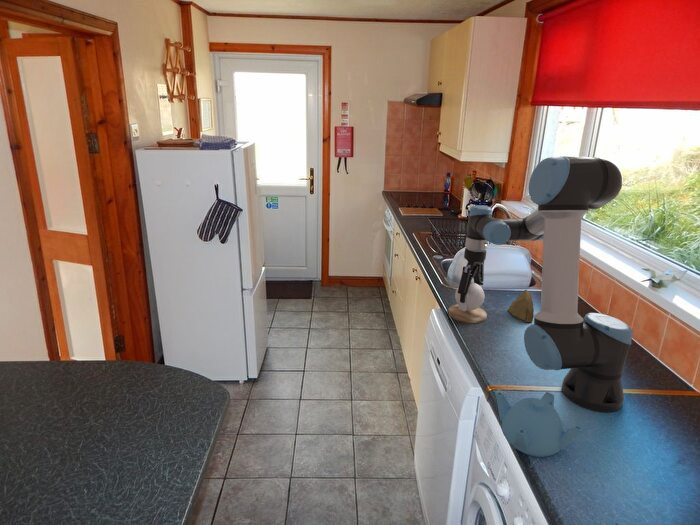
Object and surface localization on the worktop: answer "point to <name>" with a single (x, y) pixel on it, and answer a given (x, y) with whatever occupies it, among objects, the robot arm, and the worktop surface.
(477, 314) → the trivet
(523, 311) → the rock
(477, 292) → the ornament
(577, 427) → the teapot
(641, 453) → the worktop surface
